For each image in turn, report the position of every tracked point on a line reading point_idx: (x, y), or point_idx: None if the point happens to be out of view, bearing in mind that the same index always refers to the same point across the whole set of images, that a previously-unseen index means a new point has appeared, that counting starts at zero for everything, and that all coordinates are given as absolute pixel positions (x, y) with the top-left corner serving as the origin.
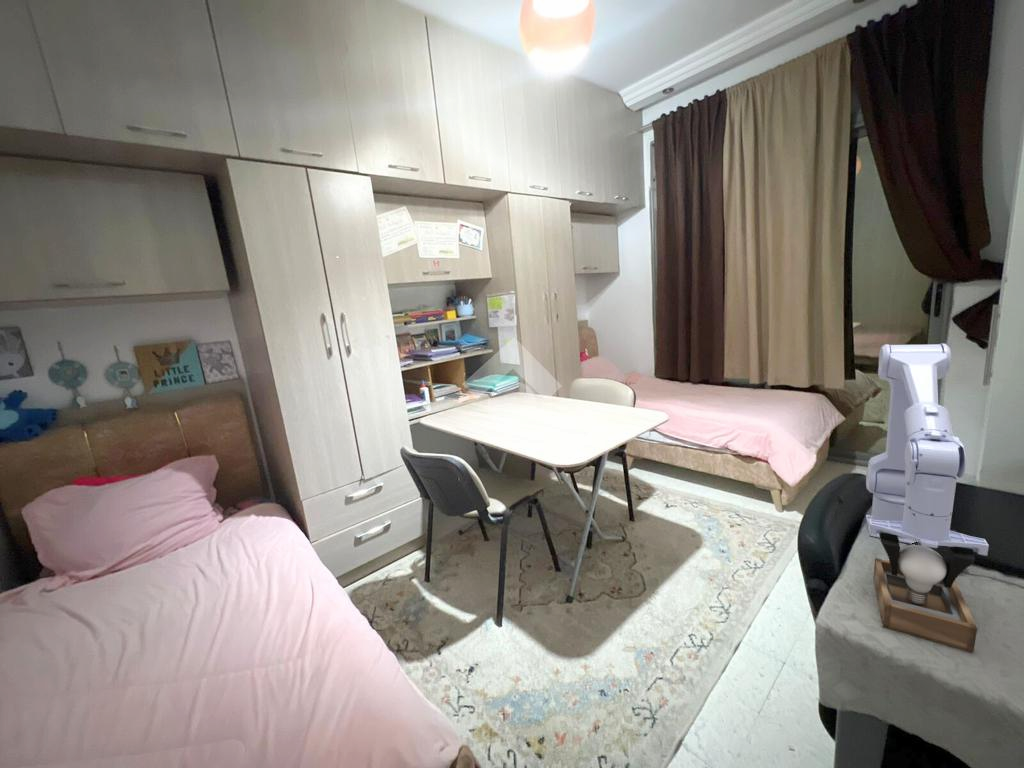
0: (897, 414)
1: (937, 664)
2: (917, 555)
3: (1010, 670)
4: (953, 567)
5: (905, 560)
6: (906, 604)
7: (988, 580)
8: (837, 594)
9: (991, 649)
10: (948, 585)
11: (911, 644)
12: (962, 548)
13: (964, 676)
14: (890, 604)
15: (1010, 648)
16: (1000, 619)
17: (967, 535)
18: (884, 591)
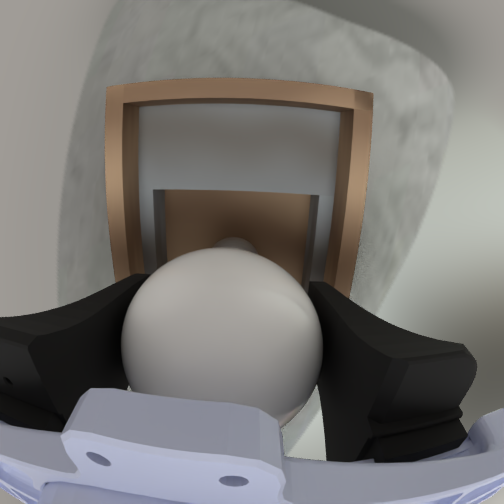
0: None
1: (237, 13)
2: (252, 358)
3: (90, 81)
4: (83, 314)
5: (307, 322)
6: (280, 183)
7: None
8: (421, 216)
9: (103, 138)
10: (138, 275)
11: (282, 59)
12: (13, 420)
13: (188, 3)
14: (356, 101)
15: (71, 167)
16: (75, 274)
17: (5, 490)
18: (360, 182)
